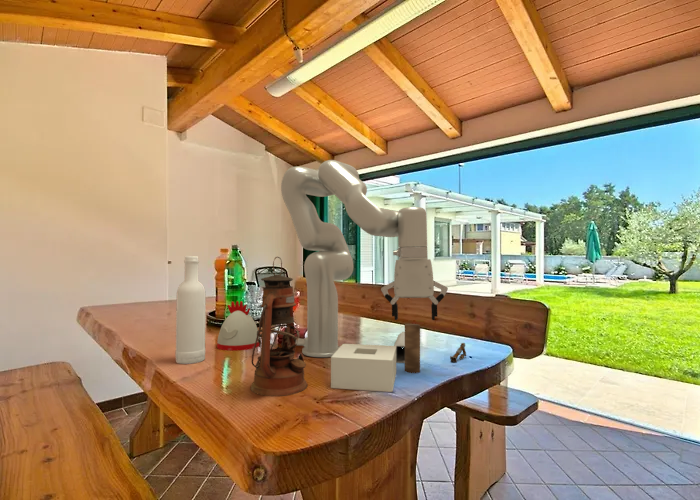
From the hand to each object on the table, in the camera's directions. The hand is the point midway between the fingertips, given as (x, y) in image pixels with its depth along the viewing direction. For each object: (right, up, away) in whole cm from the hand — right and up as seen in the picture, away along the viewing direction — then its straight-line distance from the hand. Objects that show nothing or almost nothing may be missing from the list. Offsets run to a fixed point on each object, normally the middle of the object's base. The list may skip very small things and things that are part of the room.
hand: (414, 319), depth 102 cm
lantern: (-33, -14, -12) cm, 38 cm away
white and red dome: (-54, -14, +28) cm, 63 cm away
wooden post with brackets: (+15, -14, +11) cm, 23 cm away
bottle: (-63, -14, +10) cm, 65 cm away
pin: (-1, -14, 0) cm, 14 cm away
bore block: (-13, -13, -8) cm, 20 cm away
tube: (0, -14, +20) cm, 25 cm away
